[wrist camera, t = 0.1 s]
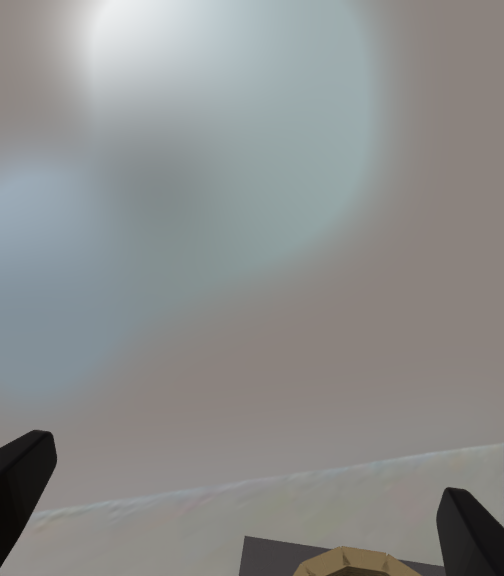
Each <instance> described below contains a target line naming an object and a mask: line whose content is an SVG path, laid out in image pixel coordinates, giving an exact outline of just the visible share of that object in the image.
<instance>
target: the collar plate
mask: <svg viewBox="0 0 504 576" xmlns="http://www.w3.org/2000/svg"><path fill="white" fill-rule="evenodd" d="M239 576H446V573H445V567H443V566H437V565H430V564H424V563H417V562H411V561H404V560H398V559H395V558H394V557H392V556H391V555H389V554H388V555H387V556H386V553H383V552H377V551H370V550H364V549H357V548H351V547H344V546H342V547H340V546H339V547H337V548H335V549H326V548H320V547H313V546H307V545H300V544H294V543H287V542H281V541H274V540H268V539H261V538H255V537H248V536H245V539H244V545H243V552H242V558H241V565H240V572H239Z"/></svg>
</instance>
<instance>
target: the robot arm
mask: <svg viewBox="0 0 504 576" xmlns="http://www.w3.org/2000/svg"><path fill="white" fill-rule="evenodd" d="M56 463H57V454H56V448H55V443H54V438H53V435H52V433H51V432H48V431H42V430H33V431H30V432H29V433H27V434H25V435H23V436H21V437H20V438H17V439H16V440H14V441H12V442H10V443H8V444H6V445H5V446H3V447H1V448H0V567H1V566H2V564H3V562H4V561H5V559H6V558H7V556H8V554H9V553H10V551H11V550H12V548H13V547H14V545H15V543H16V542H17V540H18V538H19V537H20V535H21V533H22V531H23V530H24V528H25V526H26V524H27V522H28V520H29V518H30V516H31V514H32V512H33V510H34V509H35V506H36V504H37V503H38V501H39V499H40V497H41V494H42V493H43V491H44V489H45V487H46V485H47V483H48V481H49V479H50V477H51V475H52V473H53V471H54V469H55V467H56ZM436 522H437V529H438V535H439V540H440V546H441V551H442V556H443V562H444V567H445V573H446V576H504V527H503V526H502V525H501V524H500V523H499V522H498V521H497V520H496V519H495V518H494V517H493V516H492V515H491V514H490V513H489V512H488V511H487V510H486V509H485V508H484V507H483V506H482V505H481V504H480V503H479V502H478V501H477V500H476V499H475V498H474V496H473V495H472V494H471V493H469V492H468V491H467V490H464V489H458V488H451V487H448V488H446V489H445V490H444V492H443V495H442V499H441V502H440V505H439V508H438V511H437V517H436Z"/></svg>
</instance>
